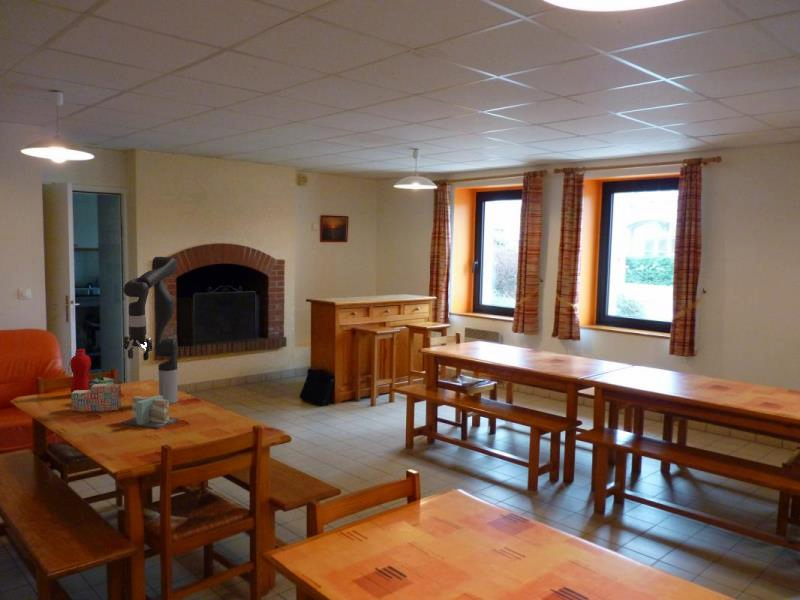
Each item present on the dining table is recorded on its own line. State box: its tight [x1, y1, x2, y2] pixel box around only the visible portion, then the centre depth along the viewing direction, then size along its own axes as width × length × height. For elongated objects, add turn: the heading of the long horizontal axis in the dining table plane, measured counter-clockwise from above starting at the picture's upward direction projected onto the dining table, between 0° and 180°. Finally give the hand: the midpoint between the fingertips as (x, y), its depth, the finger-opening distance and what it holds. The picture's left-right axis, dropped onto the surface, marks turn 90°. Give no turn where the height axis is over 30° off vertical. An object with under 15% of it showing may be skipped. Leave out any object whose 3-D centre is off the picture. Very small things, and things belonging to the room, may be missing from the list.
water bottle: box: [67, 348, 92, 394], centre depth 331 cm, size 9×11×25 cm
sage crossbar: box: [136, 394, 163, 425], centre depth 284 cm, size 14×3×10 cm, turn 161°
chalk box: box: [88, 372, 115, 390], centre depth 320 cm, size 9×9×15 cm
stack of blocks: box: [70, 383, 122, 412], centre depth 304 cm, size 21×6×12 cm, turn 100°
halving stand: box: [121, 395, 180, 430], centre depth 285 cm, size 14×20×11 cm
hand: (138, 359), depth 288 cm, fingers open, 8 cm apart
